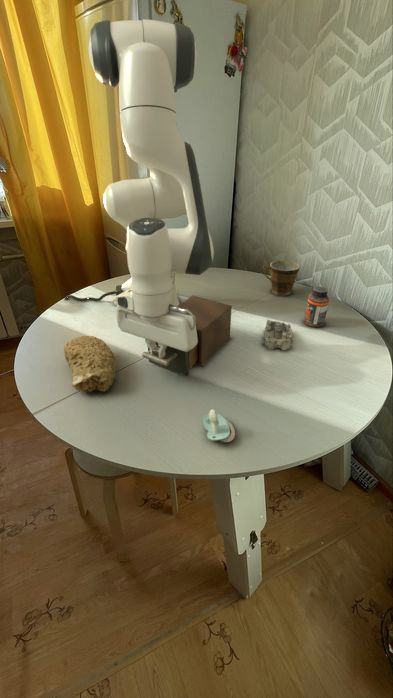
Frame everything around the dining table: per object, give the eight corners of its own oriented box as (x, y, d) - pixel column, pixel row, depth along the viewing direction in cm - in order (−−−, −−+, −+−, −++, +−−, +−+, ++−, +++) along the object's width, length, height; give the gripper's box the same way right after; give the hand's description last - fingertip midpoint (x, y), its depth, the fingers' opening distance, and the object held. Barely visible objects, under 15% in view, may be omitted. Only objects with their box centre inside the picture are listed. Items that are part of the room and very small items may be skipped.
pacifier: (228, 417, 75) (200, 422, 73) (230, 395, 71) (201, 399, 70) (239, 444, 69) (210, 449, 68) (242, 420, 65) (211, 425, 64)
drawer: (175, 386, 82) (173, 355, 77) (137, 371, 87) (133, 341, 82) (215, 347, 95) (216, 319, 90) (180, 336, 100) (179, 308, 96)
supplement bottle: (300, 319, 110) (306, 285, 103) (317, 317, 111) (324, 283, 104) (309, 329, 105) (316, 294, 98) (327, 326, 106) (335, 291, 100)
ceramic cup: (295, 287, 130) (299, 261, 124) (295, 299, 122) (300, 271, 116) (260, 284, 132) (262, 258, 127) (257, 295, 124) (260, 268, 119)
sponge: (121, 394, 83) (117, 337, 97) (110, 374, 77) (108, 316, 91) (66, 408, 83) (71, 348, 96) (51, 388, 77) (58, 328, 91)
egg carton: (290, 352, 95) (292, 339, 92) (261, 348, 96) (263, 335, 94) (291, 332, 103) (293, 320, 101) (265, 329, 105) (267, 317, 103)
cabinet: (201, 366, 90) (201, 330, 84) (162, 352, 95) (159, 317, 90) (230, 338, 101) (231, 305, 95) (192, 327, 106) (192, 295, 100)
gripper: (202, 305, 72) (203, 362, 79) (128, 287, 82) (134, 339, 89) (185, 316, 68) (187, 375, 75) (108, 296, 77) (116, 350, 84)
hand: (158, 355), depth 82 cm, fingers closed, pressing on drawer
